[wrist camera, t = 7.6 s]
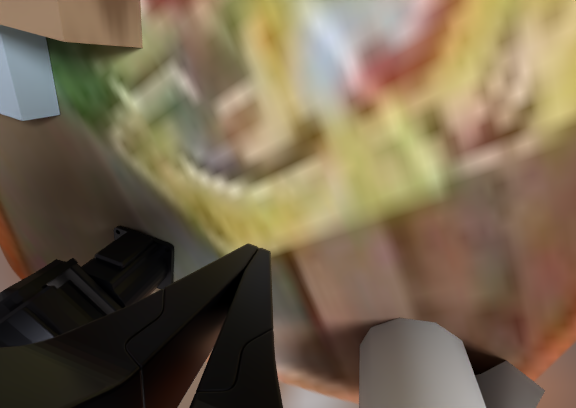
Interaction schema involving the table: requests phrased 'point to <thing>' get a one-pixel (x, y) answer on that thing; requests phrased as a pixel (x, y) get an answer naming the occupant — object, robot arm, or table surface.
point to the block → (77, 20)
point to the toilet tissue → (433, 372)
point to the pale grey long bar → (26, 76)
